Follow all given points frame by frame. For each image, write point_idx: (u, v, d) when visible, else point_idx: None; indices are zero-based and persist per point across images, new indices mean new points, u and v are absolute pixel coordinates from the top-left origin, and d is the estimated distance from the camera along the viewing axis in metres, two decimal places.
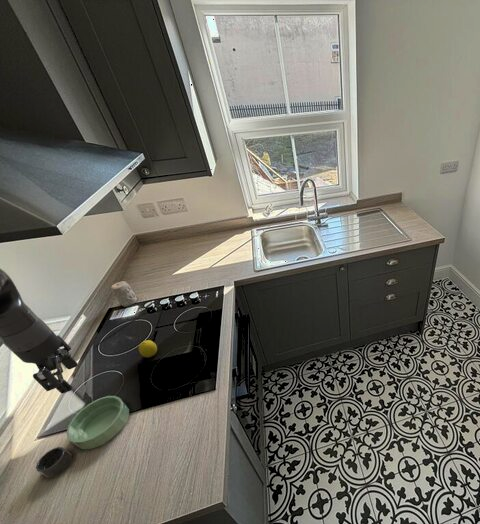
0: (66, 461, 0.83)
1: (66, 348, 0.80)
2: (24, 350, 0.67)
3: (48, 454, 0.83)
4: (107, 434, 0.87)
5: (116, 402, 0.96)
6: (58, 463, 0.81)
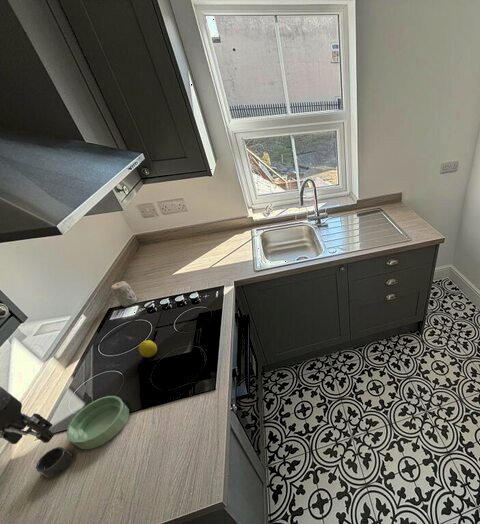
0: (66, 461, 0.83)
1: None
2: (2, 407, 0.67)
3: (48, 454, 0.83)
4: (107, 434, 0.87)
5: (116, 402, 0.96)
6: (58, 463, 0.81)
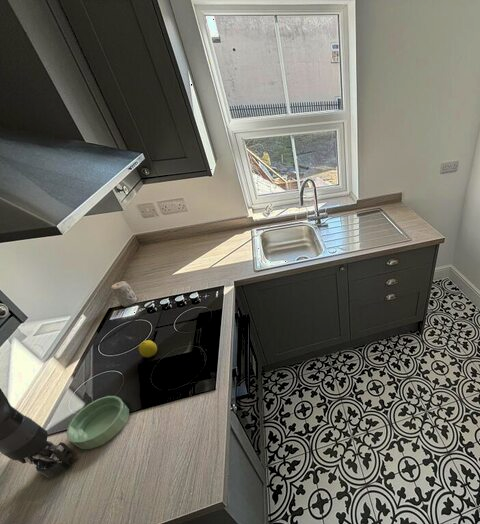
0: None
1: None
2: (31, 437, 0.74)
3: None
4: (107, 434, 0.87)
5: (116, 402, 0.96)
6: (58, 463, 0.81)
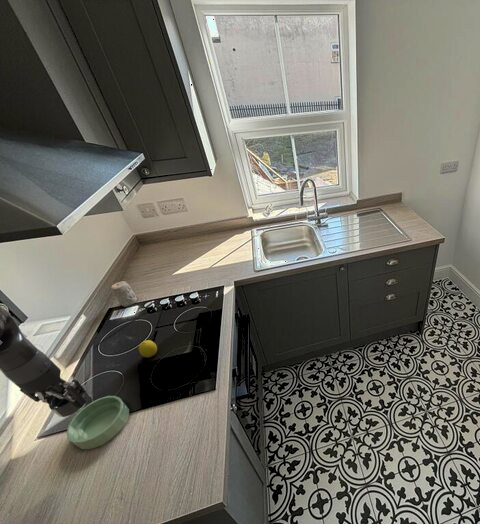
0: None
1: None
2: (45, 371, 0.73)
3: None
4: (107, 434, 0.87)
5: (116, 402, 0.96)
6: None
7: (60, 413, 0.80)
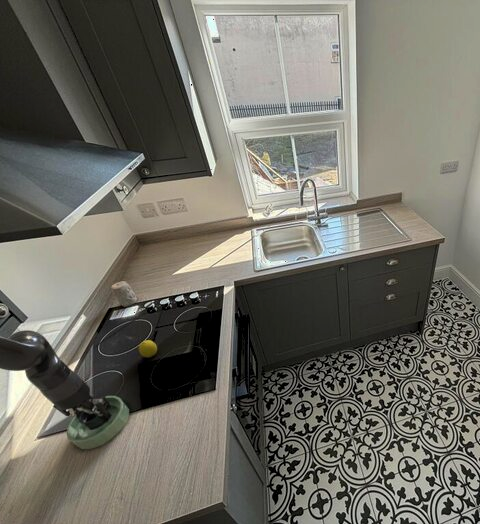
0: None
1: None
2: (77, 389, 0.81)
3: None
4: (107, 434, 0.87)
5: (116, 402, 0.96)
6: None
7: (89, 427, 0.87)
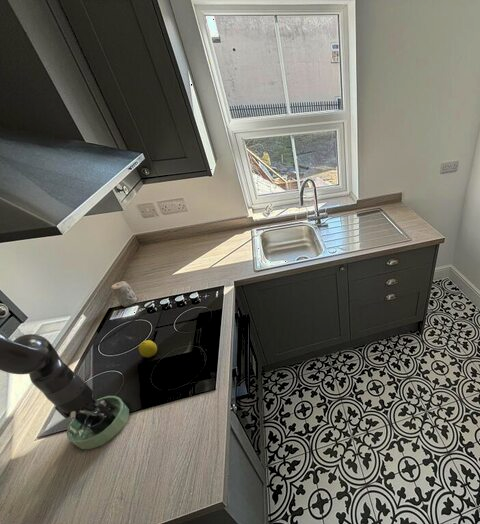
0: None
1: None
2: (80, 392, 0.82)
3: None
4: (107, 434, 0.87)
5: (116, 402, 0.96)
6: (103, 421, 0.89)
7: (93, 431, 0.89)
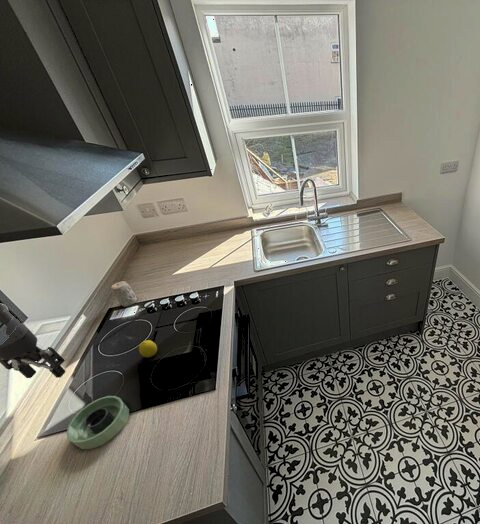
0: (109, 420, 0.91)
1: None
2: (20, 337, 0.73)
3: (93, 414, 0.91)
4: (107, 434, 0.87)
5: (116, 402, 0.96)
6: (103, 421, 0.89)
7: (93, 431, 0.89)
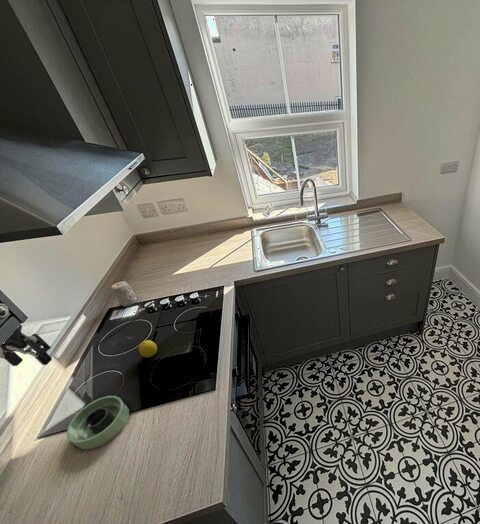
0: (109, 420, 0.91)
1: None
2: None
3: (93, 414, 0.91)
4: (107, 434, 0.87)
5: (116, 402, 0.96)
6: (103, 421, 0.89)
7: (93, 431, 0.89)
